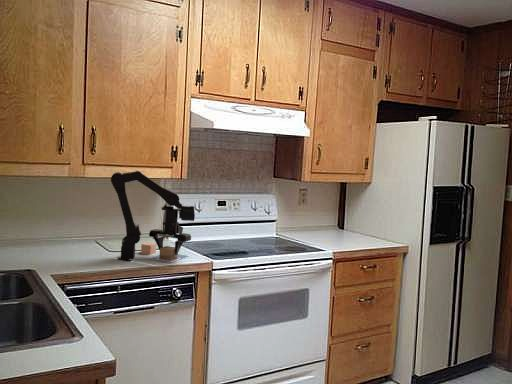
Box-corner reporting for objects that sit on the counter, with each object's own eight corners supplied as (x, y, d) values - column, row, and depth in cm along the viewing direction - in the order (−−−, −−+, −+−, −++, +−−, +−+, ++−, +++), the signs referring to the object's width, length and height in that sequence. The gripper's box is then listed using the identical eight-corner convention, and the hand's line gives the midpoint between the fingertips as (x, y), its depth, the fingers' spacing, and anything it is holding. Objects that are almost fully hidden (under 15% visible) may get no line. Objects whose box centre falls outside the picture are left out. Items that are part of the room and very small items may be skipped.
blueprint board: (170, 264, 215) (170, 263, 215) (146, 260, 219) (146, 259, 219) (189, 257, 232) (189, 255, 232) (167, 253, 236) (167, 252, 236)
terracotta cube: (150, 256, 228) (150, 245, 227) (140, 254, 230) (141, 244, 229) (155, 254, 233) (156, 244, 232) (146, 252, 234) (147, 242, 234)
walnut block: (171, 260, 219) (171, 249, 219) (159, 258, 221) (159, 248, 221) (177, 258, 225) (178, 247, 224) (165, 256, 227) (166, 245, 226)
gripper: (197, 220, 226) (195, 253, 227) (162, 215, 232) (159, 248, 233) (186, 223, 216) (183, 258, 217) (149, 218, 222) (147, 252, 223)
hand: (168, 254), depth 223 cm, fingers open, 7 cm apart
